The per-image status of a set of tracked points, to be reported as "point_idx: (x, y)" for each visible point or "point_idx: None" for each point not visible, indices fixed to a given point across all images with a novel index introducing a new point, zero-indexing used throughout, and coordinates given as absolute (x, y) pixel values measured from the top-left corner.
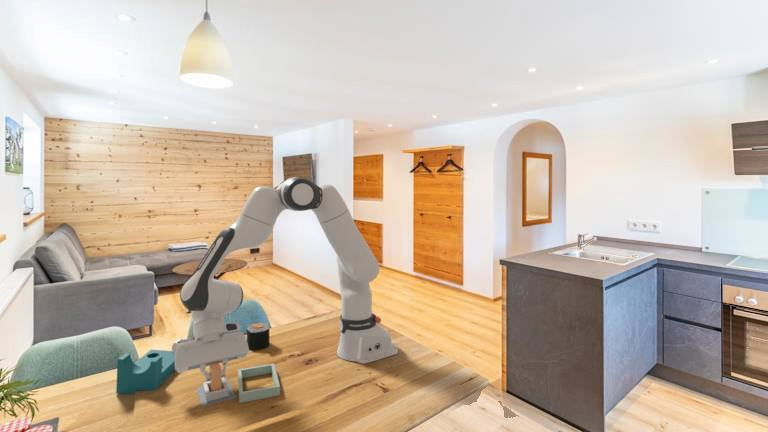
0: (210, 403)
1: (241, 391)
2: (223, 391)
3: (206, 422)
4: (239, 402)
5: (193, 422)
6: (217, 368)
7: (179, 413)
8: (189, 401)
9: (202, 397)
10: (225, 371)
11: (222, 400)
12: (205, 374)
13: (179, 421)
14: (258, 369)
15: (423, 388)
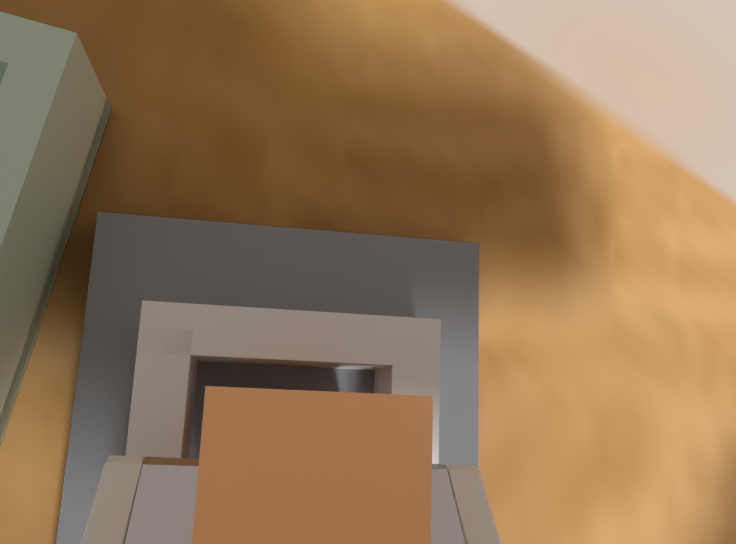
0: (385, 269)
1: (22, 83)
2: (222, 309)
3: (452, 47)
4: (101, 89)
5: (550, 116)
6: (291, 405)
7: (651, 341)
8: (555, 528)
9: (443, 460)
10: (95, 500)
11: (256, 253)
12: (497, 542)
13: (653, 205)
14: None
15: None
